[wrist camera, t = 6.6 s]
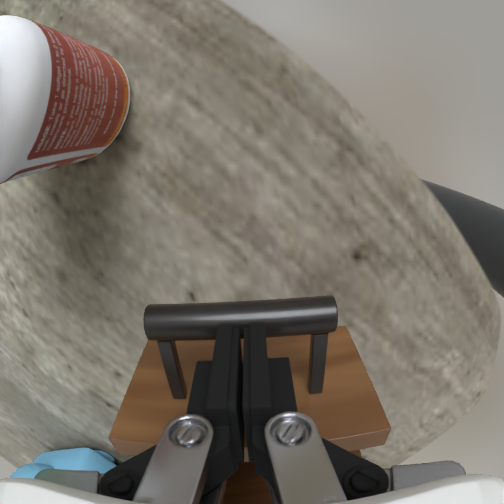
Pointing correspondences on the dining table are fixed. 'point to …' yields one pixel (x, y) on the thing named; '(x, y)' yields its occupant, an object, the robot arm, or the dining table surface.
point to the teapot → (67, 462)
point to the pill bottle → (55, 99)
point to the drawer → (278, 345)
